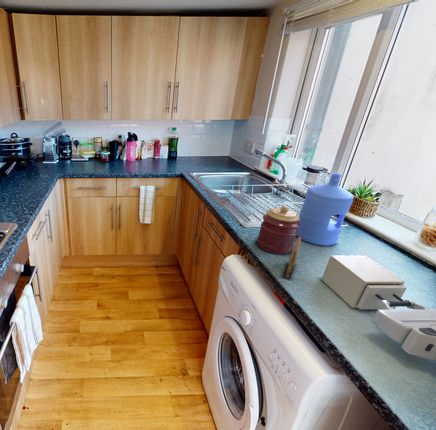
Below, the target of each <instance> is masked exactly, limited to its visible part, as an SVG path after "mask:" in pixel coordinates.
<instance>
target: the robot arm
mask: <svg viewBox="0 0 436 430" xmlns="http://www.w3.org/2000/svg"><path fill="white" fill-rule="evenodd" d="M404 301H408V302H409V303H410V306H409V307H407V309H396V308H395V309H393V308H390V307H389V306H390V303H389V302H387V301H386V300H379V301H378V303H377V304H378V305H379V306H380V307H381V308H382V309H376V310H377V311H376V312H375V313H374V315H373V318H372V320H373V323H374V325H376V326H377V328H378V329H380V330H381V331H382V332H383V333H384V334H385V335H387V336H388V337H389V338H390V339H392V340H393V341H394V342H396V343H398V344H400V345H401V349H402V350H403V351H404V352H405V353H406V354H408V355H412V356H415V357H421V358H425V359H428V360H431V361H434V362H436V309H435V308H434V309H432V308H431V309H430V308H429V307H427V306H425V305H422V304H420V303H417V302H416V301H415V300H413V299H405V300H404Z"/></svg>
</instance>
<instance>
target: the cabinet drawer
mask: <svg viewBox="0 0 436 430" xmlns="http://www.w3.org/2000/svg"><path fill="white" fill-rule="evenodd" d="M406 290H407V287H406V286H404V284H403V285H395V284H366V286H365V288H364V290H363V293H362V295H361V297H360V299H359V301H358V305H357V307H358V308H357V309H359V310H382V308H381V307H380V306H379V305H378V304H377V303H378V301H379V300H386V301H387V302H389V303H390V306H389V307H390V308H393V309H395V310H396V308H397V307H402V308H403V307H404V308H405V307H406V308H408V307H409V306H410V303H409V302H408V301H405V300H404V299H403V296H404V294H405V292H406Z"/></svg>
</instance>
